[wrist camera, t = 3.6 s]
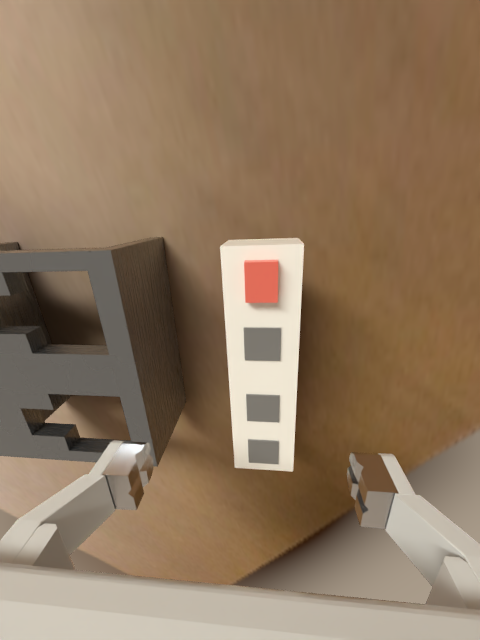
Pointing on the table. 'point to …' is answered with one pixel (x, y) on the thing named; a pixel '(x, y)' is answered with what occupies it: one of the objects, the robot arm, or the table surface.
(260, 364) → the power strip
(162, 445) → the grey stepped cutout plate
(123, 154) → the table surface
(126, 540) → the table surface
